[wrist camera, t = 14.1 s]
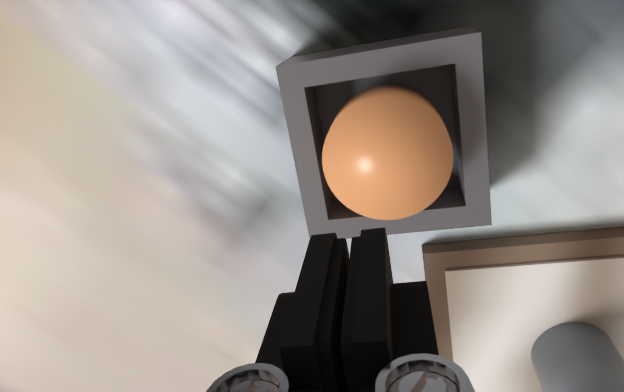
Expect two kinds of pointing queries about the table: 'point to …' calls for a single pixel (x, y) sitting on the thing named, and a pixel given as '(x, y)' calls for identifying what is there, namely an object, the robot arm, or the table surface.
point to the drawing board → (521, 298)
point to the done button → (387, 153)
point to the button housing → (404, 72)
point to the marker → (577, 360)
